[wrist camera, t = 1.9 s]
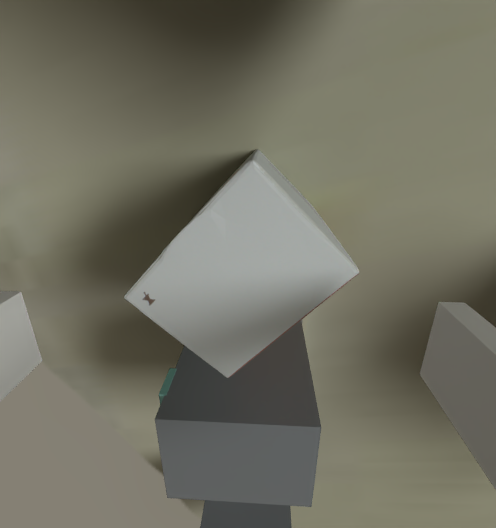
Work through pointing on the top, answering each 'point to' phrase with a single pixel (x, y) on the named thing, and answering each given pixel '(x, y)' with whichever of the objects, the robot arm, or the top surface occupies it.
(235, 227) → the small box
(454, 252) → the top surface
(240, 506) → the block
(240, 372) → the block
